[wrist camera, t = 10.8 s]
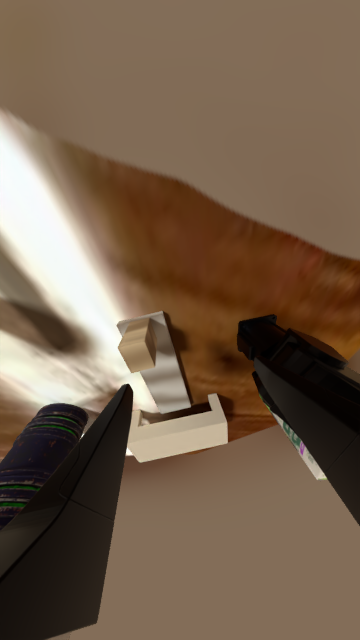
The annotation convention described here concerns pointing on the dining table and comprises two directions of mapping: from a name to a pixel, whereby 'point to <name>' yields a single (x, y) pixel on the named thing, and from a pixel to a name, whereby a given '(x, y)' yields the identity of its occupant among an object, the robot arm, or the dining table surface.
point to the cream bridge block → (177, 433)
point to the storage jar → (38, 455)
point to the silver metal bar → (154, 359)
